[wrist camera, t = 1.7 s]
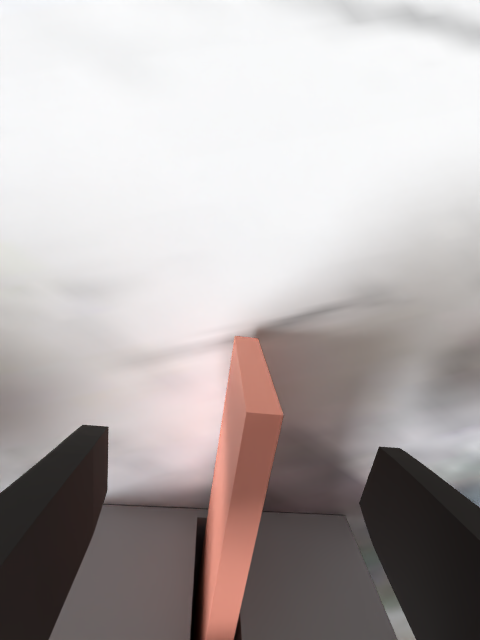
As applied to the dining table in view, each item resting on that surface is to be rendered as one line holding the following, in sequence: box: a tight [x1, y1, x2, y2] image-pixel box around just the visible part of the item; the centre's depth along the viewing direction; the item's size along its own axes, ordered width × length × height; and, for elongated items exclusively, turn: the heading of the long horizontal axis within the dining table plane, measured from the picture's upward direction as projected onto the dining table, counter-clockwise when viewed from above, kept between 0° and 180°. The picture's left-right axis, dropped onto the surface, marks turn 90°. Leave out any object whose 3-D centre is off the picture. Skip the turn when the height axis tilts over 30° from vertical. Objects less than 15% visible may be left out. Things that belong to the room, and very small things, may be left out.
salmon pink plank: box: [193, 336, 284, 640], centre depth 11 cm, size 13×1×4 cm, turn 172°
